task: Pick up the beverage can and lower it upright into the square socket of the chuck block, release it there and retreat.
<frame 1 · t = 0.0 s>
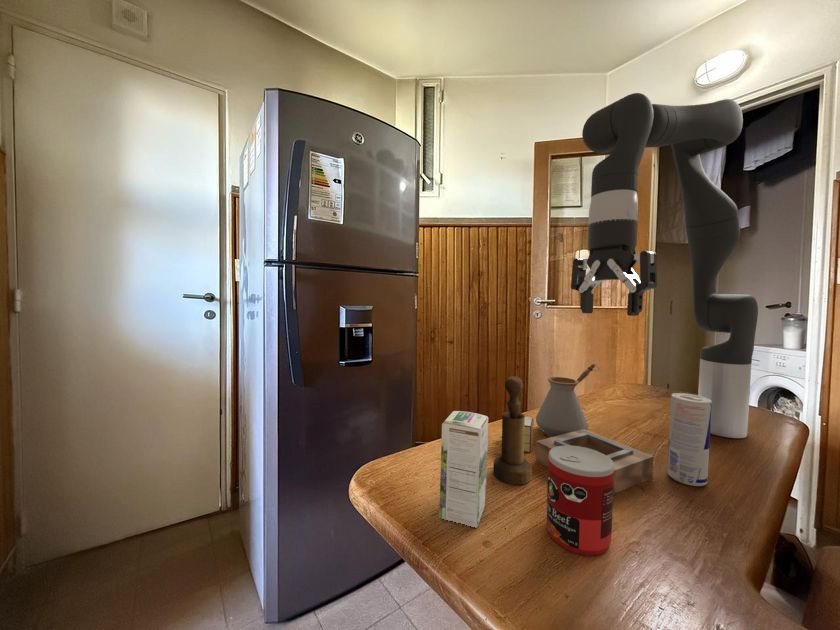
hand: (608, 314, 61), 29 cm above the table, fingers open, 8 cm apart
mortar and pestle: (511, 476, 62), on the table
coffee pot: (571, 429, 84), on the table
chuck block: (591, 469, 64), on the table
syrup box: (463, 514, 51), on the table
canned food: (577, 537, 46), on the table
puzzle toy: (518, 446, 74), on the table
beverage can: (686, 480, 61), on the table
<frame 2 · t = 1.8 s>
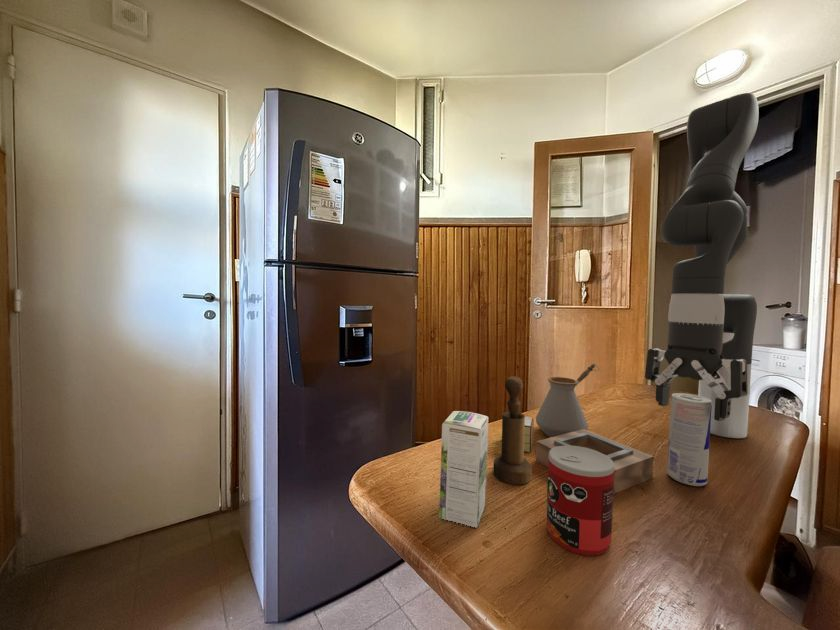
hand: (689, 412, 60), 12 cm above the table, fingers open, 8 cm apart
nothing on the table moved.
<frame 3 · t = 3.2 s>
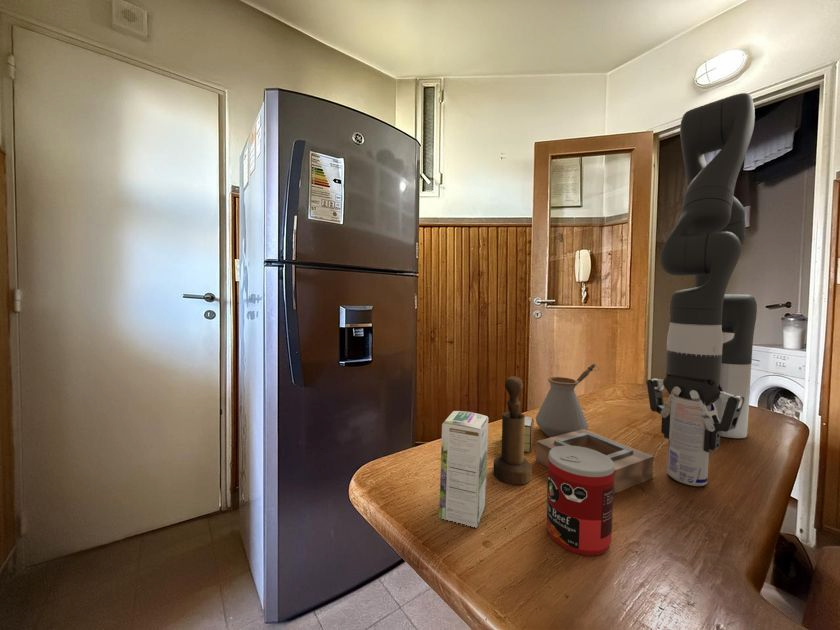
hand: (688, 443, 60), 7 cm above the table, fingers closed on beverage can, 5 cm apart
beverage can: (686, 480, 61), on the table, touching gripper
everything else where it was.
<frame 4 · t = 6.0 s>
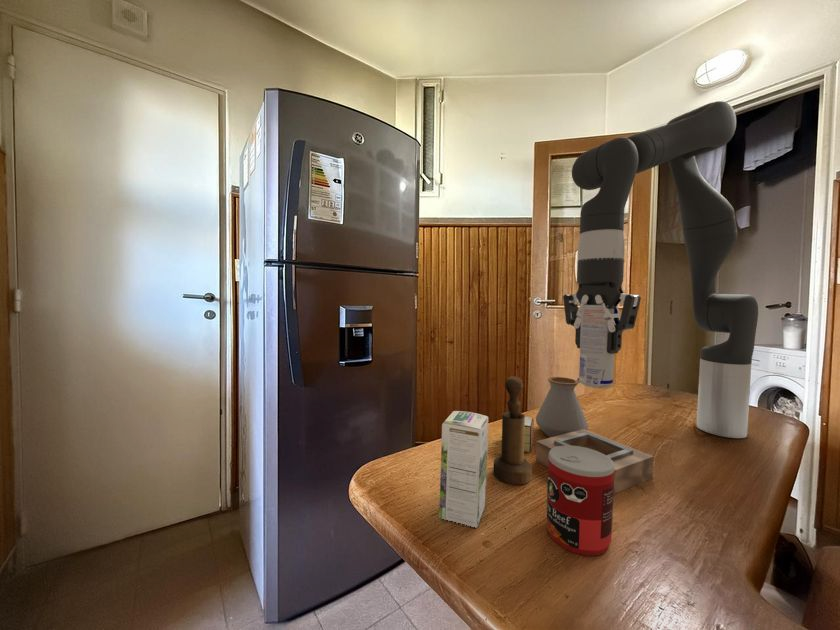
hand: (596, 350, 63), 23 cm above the table, fingers closed on beverage can, 5 cm apart
beverage can: (595, 386, 63), point 16 cm above the table, touching gripper
everything else where it was.
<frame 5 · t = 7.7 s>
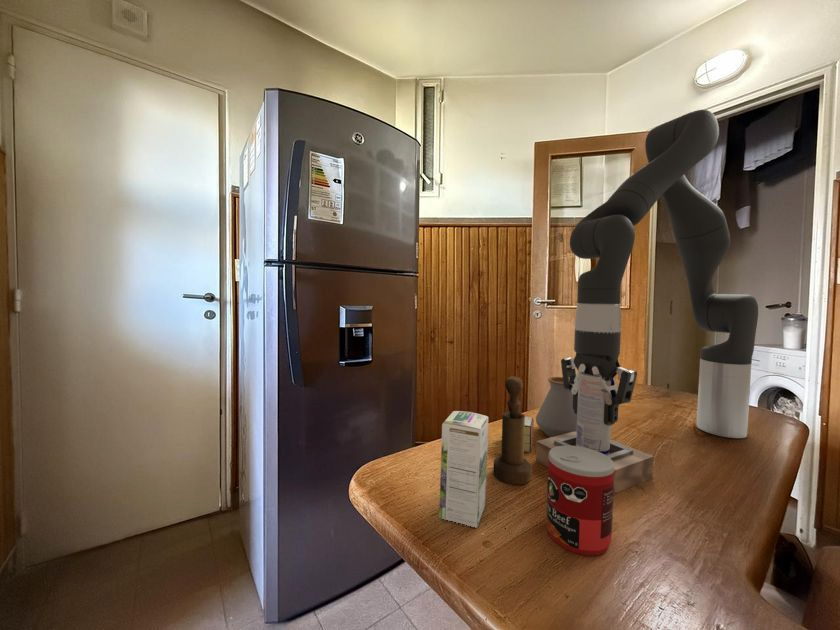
hand: (593, 418, 64), 10 cm above the table, fingers closed on beverage can, 5 cm apart
beverage can: (592, 453, 64), point 3 cm above the table, touching gripper
everything else where it was.
when the fingers open (8 cm above the table, at t = 8.9 s): beverage can drops 1 cm, resting in chuck block.
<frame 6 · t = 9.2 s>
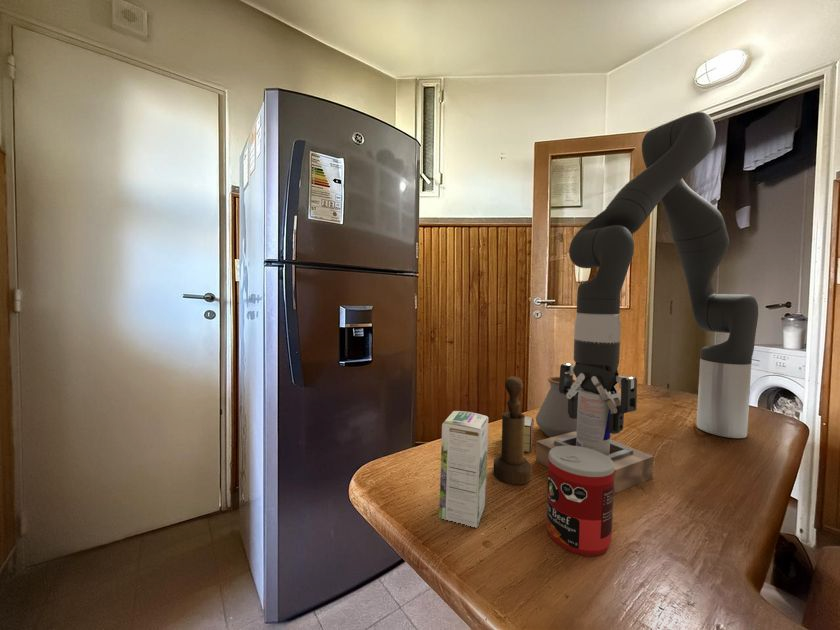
hand: (593, 424, 64), 8 cm above the table, fingers open, 8 cm apart
beverage can: (591, 470, 64), resting in chuck block
everything else where it was.
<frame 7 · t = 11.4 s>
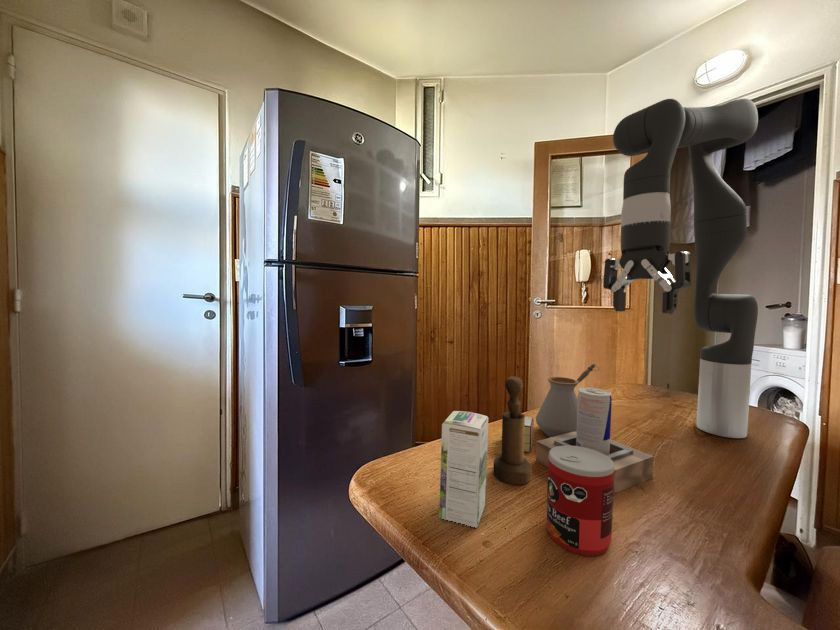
hand: (642, 312, 63), 30 cm above the table, fingers open, 8 cm apart
nothing on the table moved.
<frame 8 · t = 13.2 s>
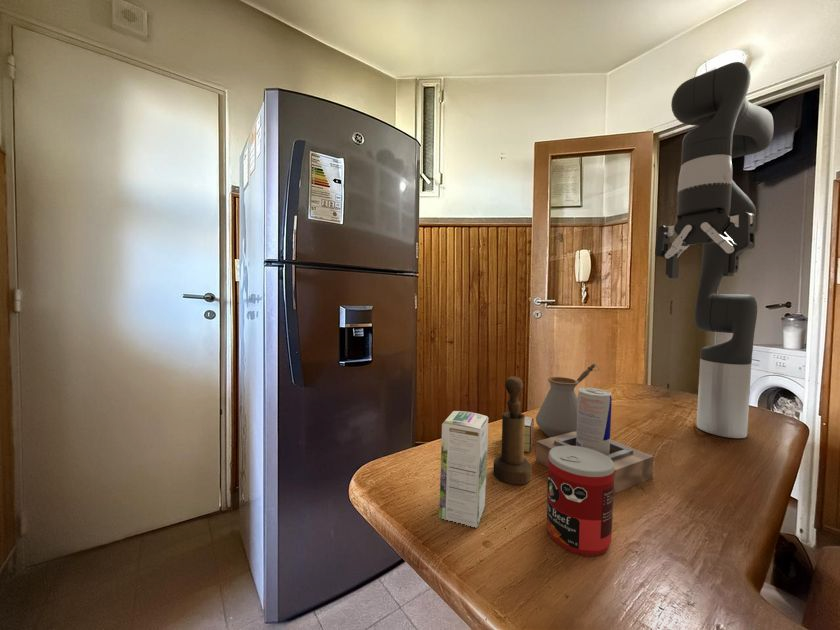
hand: (698, 277, 63), 36 cm above the table, fingers open, 8 cm apart
nothing on the table moved.
at the end: beverage can 0.0 cm from the target spot, resting in chuck block; beverage can tilted 0°; the gripper is holding nothing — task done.
